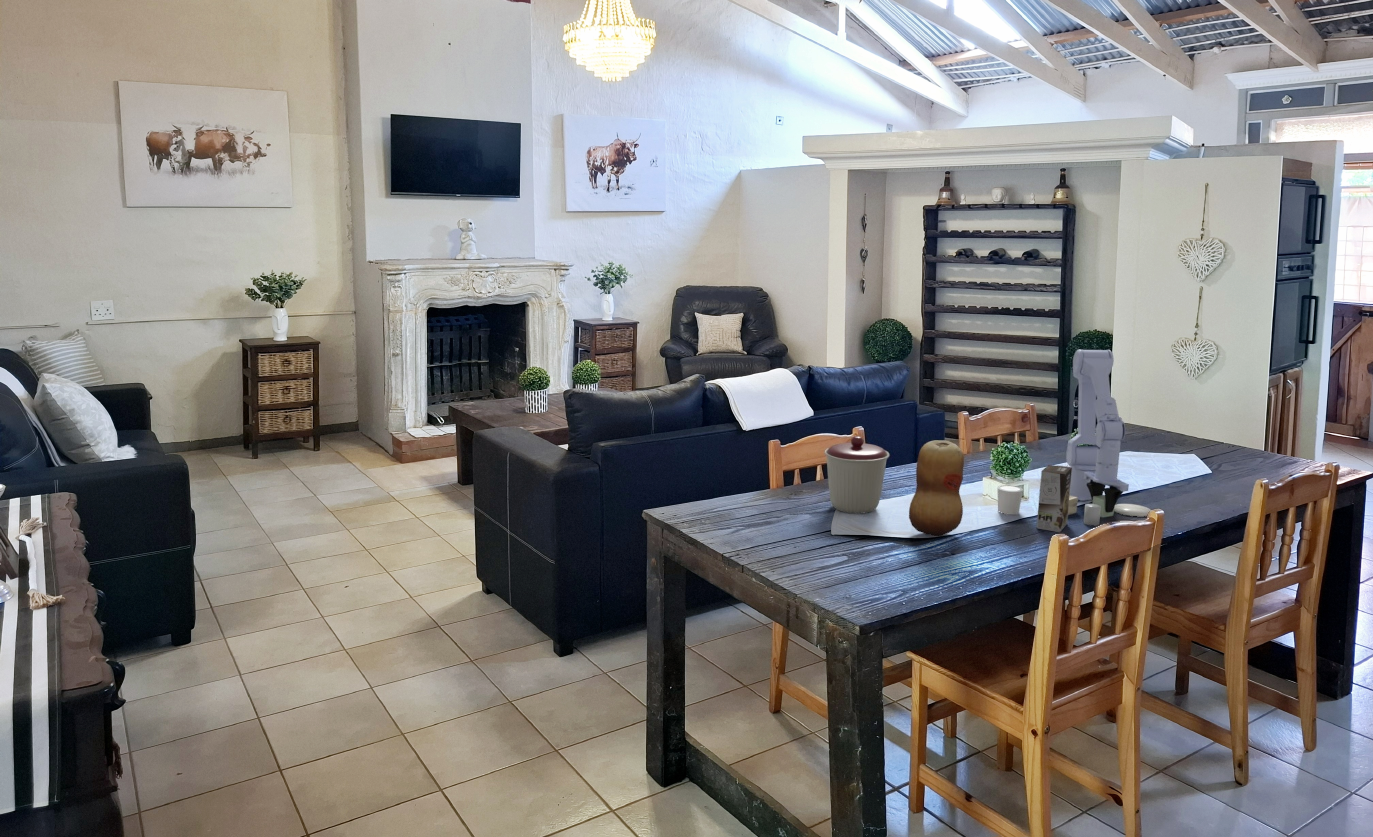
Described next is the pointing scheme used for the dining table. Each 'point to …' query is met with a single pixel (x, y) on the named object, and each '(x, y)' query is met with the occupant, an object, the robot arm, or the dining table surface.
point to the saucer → (1131, 510)
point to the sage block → (1102, 505)
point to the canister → (855, 475)
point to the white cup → (1009, 499)
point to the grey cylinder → (1092, 514)
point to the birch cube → (1072, 505)
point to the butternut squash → (938, 489)
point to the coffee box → (1054, 498)
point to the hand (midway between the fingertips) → (1102, 509)
